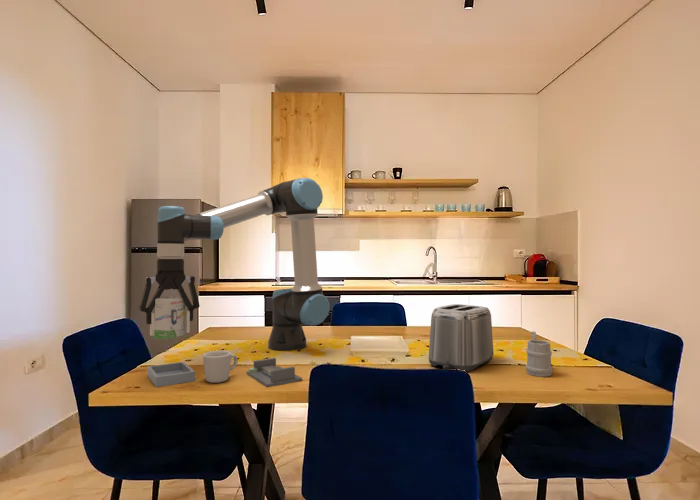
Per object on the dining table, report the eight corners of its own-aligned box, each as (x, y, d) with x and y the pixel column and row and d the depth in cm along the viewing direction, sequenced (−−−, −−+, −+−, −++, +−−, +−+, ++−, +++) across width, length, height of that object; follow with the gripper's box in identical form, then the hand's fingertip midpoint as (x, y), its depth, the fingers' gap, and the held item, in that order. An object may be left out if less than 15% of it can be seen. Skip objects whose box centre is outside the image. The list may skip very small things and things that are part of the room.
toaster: (501, 359, 154) (501, 305, 154) (463, 378, 131) (463, 314, 131) (457, 352, 164) (457, 301, 164) (414, 368, 142) (414, 309, 142)
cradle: (279, 368, 142) (279, 356, 142) (302, 380, 128) (302, 367, 128) (246, 373, 136) (246, 361, 136) (267, 387, 122) (267, 373, 122)
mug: (529, 376, 132) (529, 337, 132) (519, 366, 144) (519, 330, 144) (556, 377, 131) (556, 337, 131) (544, 367, 143) (544, 330, 143)
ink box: (170, 334, 135) (171, 295, 135) (185, 334, 134) (186, 296, 134) (153, 339, 127) (153, 298, 127) (169, 340, 126) (169, 298, 126)
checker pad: (272, 369, 137) (272, 365, 137) (286, 376, 129) (286, 372, 129) (260, 371, 135) (260, 367, 135) (274, 378, 127) (274, 374, 127)
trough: (183, 370, 139) (183, 361, 139) (194, 381, 128) (194, 371, 128) (147, 375, 134) (147, 366, 134) (155, 387, 122) (155, 377, 122)
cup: (228, 373, 136) (228, 347, 136) (244, 378, 131) (244, 351, 131) (197, 381, 128) (197, 353, 128) (213, 386, 123) (213, 358, 123)
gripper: (204, 258, 140) (203, 328, 140) (128, 258, 128) (127, 335, 128) (211, 258, 134) (210, 331, 134) (131, 258, 122) (131, 339, 122)
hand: (170, 333), depth 131 cm, fingers closed on ink box, 9 cm apart
